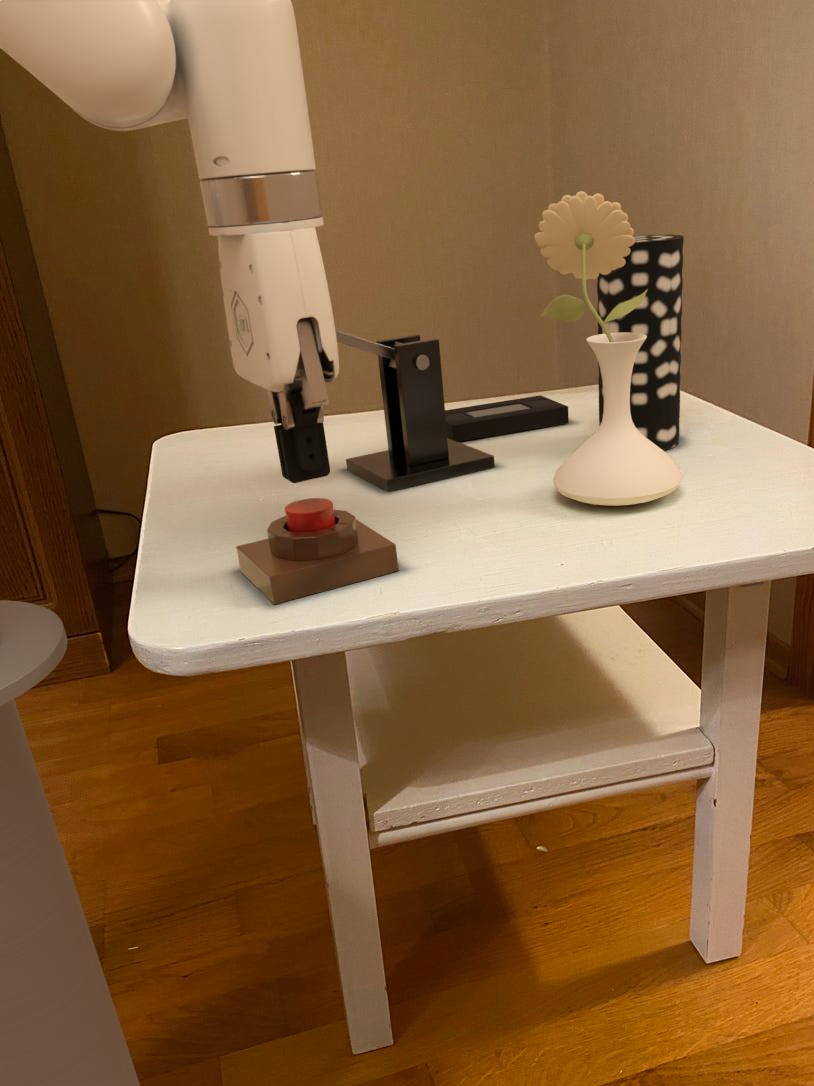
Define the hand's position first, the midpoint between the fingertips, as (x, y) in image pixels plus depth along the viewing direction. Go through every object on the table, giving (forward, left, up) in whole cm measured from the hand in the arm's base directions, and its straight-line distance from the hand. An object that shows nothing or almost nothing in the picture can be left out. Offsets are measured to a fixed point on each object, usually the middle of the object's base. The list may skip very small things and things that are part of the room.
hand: (306, 476), depth 71 cm
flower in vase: (+28, 0, -8) cm, 29 cm away
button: (0, 0, -4) cm, 4 cm away
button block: (0, 0, -8) cm, 8 cm away
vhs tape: (+34, +29, -8) cm, 45 cm away
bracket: (+19, +20, -8) cm, 29 cm away
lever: (+12, +20, +5) cm, 24 cm away
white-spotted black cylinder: (+41, +12, -8) cm, 43 cm away
